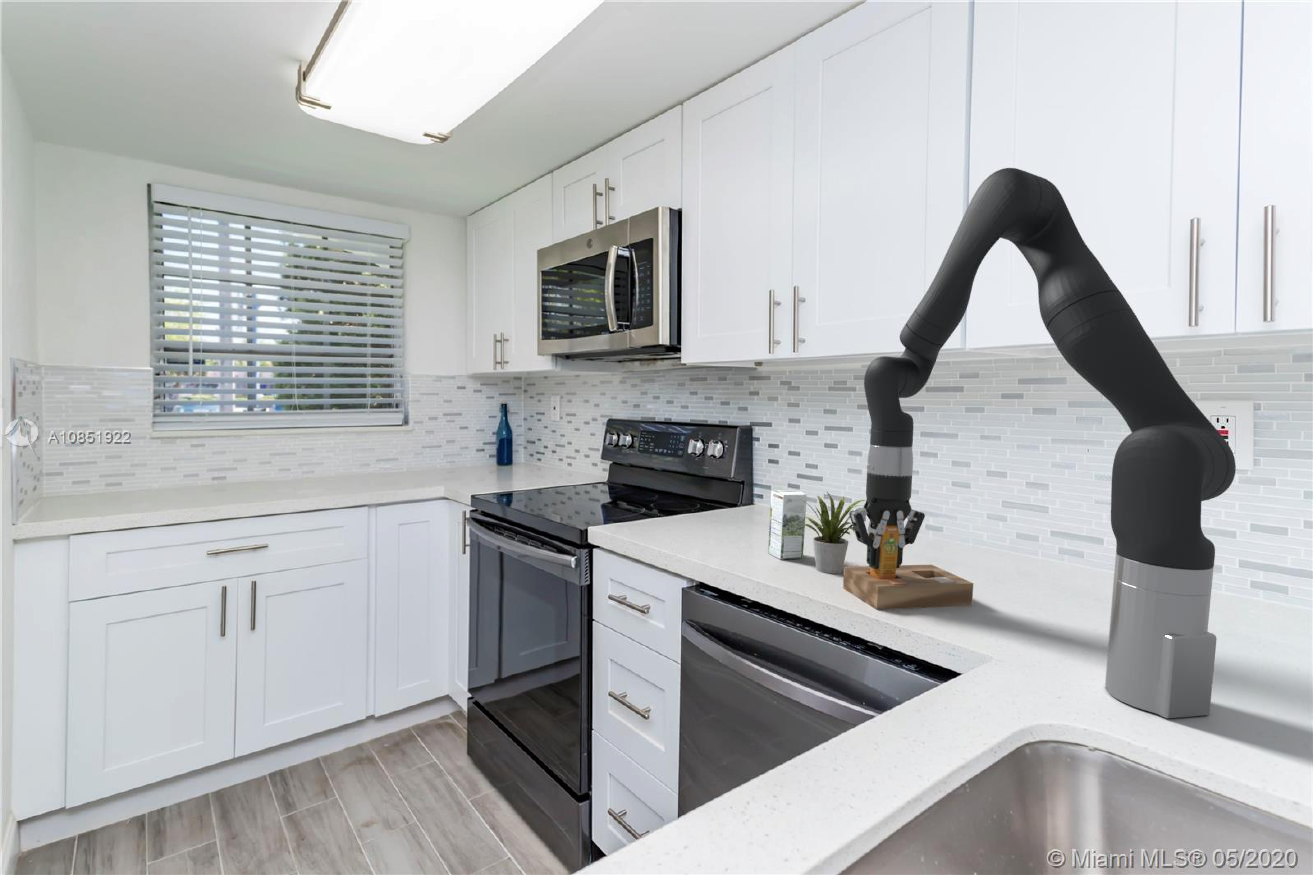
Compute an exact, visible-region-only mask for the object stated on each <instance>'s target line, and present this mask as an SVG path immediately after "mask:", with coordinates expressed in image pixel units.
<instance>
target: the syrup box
mask: <svg viewBox="0 0 1313 875" xmlns="http://www.w3.org/2000/svg"><path fill="white" fill-rule="evenodd" d="M800 499H801V500H800ZM802 500H803V501H802ZM804 501H805V502H806V503H805V502H804ZM806 512H807V494H806V493H804V492H802V491H800V490H797V489H796V490H795V489H786V490H785V489H783V490H782V489H781V490H771V493H770V508H769V529H768V530H769V531H768V548H767V549H768V550H767V553H768V554H769V555H770V556H772V557H774V558H777V559H778V560H780V561H781V560H782V561H783V560H796V559H799V560H800V559H803V558H804V547H805V546H804V543H805V532H806V531H805V530H806V528H805V527H806V526H805V525H803V524H806Z"/></svg>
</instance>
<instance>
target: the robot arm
mask: <svg viewBox="0 0 1313 875" xmlns="http://www.w3.org/2000/svg"><path fill="white" fill-rule="evenodd" d="M1000 239H1003V240H1006V241H1007V240H1008V241H1009V242H1010V243H1012V244H1013V245H1015V247H1016V248H1017V249H1018V250H1019V251H1020V253H1021V255H1022V256H1023V257H1024V258H1025V260H1026V261H1027V263H1028V265H1030V267H1031V270H1032V271H1033V273H1034V275H1035V278H1036V282H1037V293H1038V295H1037V296H1038V297H1037V298H1038V306H1039V307H1038V308H1039V313H1040V318H1041V320H1042V322H1043V325H1044V327H1045V329H1046V331H1047V332H1048V334H1049V335H1050V337H1051V339H1052V341H1053V343H1054V344H1055V346H1056V348H1057V349H1058V351H1059V353H1060V354H1061V356H1062V357H1063V358H1064V360H1065V362H1066V363H1067V364H1068V365H1069V366H1070V367H1071V368H1072V369H1073V370H1074V371H1075V372H1076V373H1077V374H1078V375H1079V376H1080V377H1081V378H1083V379H1084V380H1085V381H1086V382H1087V383H1089V385H1090V386H1091V387H1093V388H1094V389H1095V390H1097V392H1099V393H1100V394H1101V395H1102V396H1103V397H1104V398H1106V400H1108V401H1109V402H1110V403H1111V404H1112V406H1114V408H1115V409H1116V410H1117V412H1118V413H1119V414H1120V416H1121V417H1122V419H1123V421H1125V423H1126V425H1127V426H1128V429H1129V430H1130V432H1131V433H1130V434H1128V435H1127V436H1126V437H1125V438H1124V439H1123V440H1122V441H1121V442H1120V444H1119V446H1118V447H1117V450H1116V452H1115V455H1114V458H1113V462H1112V463H1113V464H1112V471H1111V493H1110V494H1111V495H1110V497H1111V498H1110V524H1111V529H1112V532H1113V535H1114V537H1115V538H1114V539H1115V540H1116V547H1115V548H1116V551H1115V558H1114V559H1115V561H1114V562H1115V563H1114V572H1113V583H1112V592H1111V593H1112V596H1111V607H1110V608H1111V609H1110V618H1109V619H1110V621H1109V631H1108V642H1107V643H1108V644H1107V655H1106V656H1107V658H1106V670H1105V685H1104V689H1105V690H1106V692H1107V693H1108V694H1109V695H1110V696H1112V697H1114V698H1115V699H1117V700H1118V701H1121V702H1123V704H1127V705H1129V706H1131V707H1134V708H1136V709H1137V708H1138V709H1140V710H1143V711H1147V712H1150V713H1154V714H1156V715H1159V716H1161V717H1163V718H1165V719H1174V718H1175V719H1177V718H1188V717H1198V716H1209V715H1210V712H1211V703H1212V702H1211V700H1212V690H1213V680H1214V671H1215V662H1216V661H1215V660H1216V648H1217V636H1216V634H1214V633H1212V632H1210V631H1209V630H1208V629H1209V620H1210V619H1209V618H1210V610H1211V609H1210V608H1211V600H1212V599H1211V598H1212V588H1213V587H1212V586H1213V579H1214V578H1213V577H1214V576H1213V575H1214V568H1215V560H1216V559H1215V557H1216V548H1215V547H1216V546H1215V544H1214V543H1213V542H1212V541H1211V539H1209V538H1207V537H1206V536H1205V534H1204V532H1203V530H1202V502H1205V501H1208V500H1212V499H1215V498H1218V497H1219V496H1221V495H1223V494H1225V492H1227V490H1228V489H1229V488H1230V487H1231V485H1232V484H1233V481H1234V479H1235V475H1236V470H1237V469H1236V467H1237V466H1236V459H1235V458H1236V457H1235V455H1234V453H1233V451H1232V448H1231V447H1230V445H1229V443H1228V442H1227V440H1226V439H1225V438H1224V436H1222V434H1221V433H1220V432H1219V431H1218V430H1217V428H1216V427H1215V426H1214V425H1213V423H1211V421H1210V420H1209V419H1208V418H1207V416H1206V415H1204V413H1203V412H1202V411H1201V410H1200V408H1199V407H1198V406H1197V405H1196V404H1195V402H1194V401H1193V400H1192V399H1191V398H1190V397H1189V395H1188V394H1187V392H1185V390H1184V389H1183V388H1182V387H1181V385H1180V384H1179V382H1178V381H1177V380H1176V378H1175V376H1174V375H1173V373H1172V372H1171V370H1170V369H1169V367H1168V365H1167V364H1166V361H1165V360H1164V359H1163V356H1162V355H1161V353H1160V352H1159V350H1158V349H1157V347H1156V345H1155V343H1153V341H1152V340H1151V338H1150V336H1149V335H1148V334H1147V332H1146V330H1145V329H1144V327H1143V325H1142V324H1141V322H1140V320H1139V319H1138V316H1137V315H1136V313H1135V312H1134V310H1133V309H1132V306H1130V305H1129V303H1128V301H1127V300H1126V298H1125V297H1124V295H1123V293H1122V292H1121V291H1120V290H1119V288H1118V287H1117V286H1116V284H1115V282H1114V281H1113V280H1112V278H1111V277H1110V276H1109V274H1108V272H1107V271H1106V270H1105V268H1104V267H1103V265H1102V264H1101V263H1100V261H1099V259H1098V258H1097V257H1096V256H1095V254H1094V253H1093V252H1092V251H1091V249H1090V248H1089V247H1088V245H1087V244H1086V242H1085V241H1084V238H1083V237H1082V236H1081V234H1080V232H1079V229H1078V227H1077V225H1076V223H1075V222H1074V219H1073V217H1072V214H1071V212H1070V210H1069V208H1068V206H1067V204H1066V202H1065V199H1064V198H1063V195H1062V194H1061V192H1060V190H1059V189H1058V188H1057V186H1056V185H1055V184H1054V183H1053V182H1051V181H1049V180H1048V178H1047V179H1046V178H1044V177H1042V176H1039V175H1036V174H1034V173H1030V172H1028V171H1026V170H1023V169H1019V168H1016V167H1006V168H1005V167H1004V168H1002V169H998V170H996V171H994V172H992V173H991V174H990V175H989V176H988V177H986V179H985V178H984V180H983V181H982V182H981V184H980V185H979V187H978V188H977V189H976V191H975V193H974V194H973V196H972V198H971V199H970V202H969V204H968V206H967V208H966V210H965V213H964V215H963V217H962V218H961V221H960V223H959V225H958V227H957V230H956V232H955V233H954V237H953V238H952V241H951V242H950V245H949V247H948V249H947V250H946V253H945V255H944V257H943V260H942V261H941V264H940V265H939V268H938V270H937V273H936V275H935V276H934V278H933V280H932V282H931V284H930V286H929V287H928V288H927V291H926V292H925V294H924V295H923V297H922V299H921V300H920V302H919V303H918V305H917V306H916V308H915V309H914V310H913V312H912V314H911V315H910V317H909V318H908V320H907V321H906V323H905V324H904V326H903V327H902V329H901V331H900V335H899V341H900V343H901V344H902V346H903V347H904V351H903V353H902V355H901V356H899V357H898V356H884V355H883V356H878V357H876V358H874V359H873V360H872V361H870V363H869V365H868V366H867V367H866V370H865V373H864V378H863V388H864V393H865V394H864V395H865V399H866V403H867V409H868V413H869V417H870V421H871V424H870V440H869V450H868V455H867V465H866V469H867V470H866V482H865V483H866V484H865V485H866V486H865V495H866V499H865V500H866V501H865V503H864V504H863V505H864V506H863V507H862V509H860V510H858V511H855V510H852V509H851V510H850V511H849V513H848V515H849V516H850V518H849V520H850V521H851V522H850V523H851V524H852V525H853V526H852V527H853V528H854V531H853V532H854V535H855V538H856V540H857V542H859V543H861V544H863V545H866V563H867V565H868V566H870V567H871V568H873V569H878V568H879V553H880V549H879V548H878V547H879V544H880V541H881V537H882V536H883V535H884V532H885V527H886V526H897V527H898V536H899V542H898V554H897V565H896V568H899V567H900V565H902V564H903V556H904V554H903V553H904V548H905V546H907V545H914V543H915V541H916V539H917V536H918V534H919V532H920V529H921V527H922V524H923V522H924V520H925V517H926V514H925V513H924V512H921V511H919V510H915V509H912V506H911V503H910V499H911V498H912V487H913V486H912V485H913V484H912V483H913V468H914V456H913V455H914V454H913V444H914V443H913V442H914V419H913V416H912V415H911V414H909V413H907V412H904V411H903V410H902V407H901V401H900V399H907V398H911V397H914V396H915V395H917V394H918V393H919V392H920V391H921V390H923V388H924V387H925V386H926V385H927V383H928V381H929V379H930V377H931V374H932V372H933V368H934V367H935V364H936V362H937V360H938V356H939V353H940V351H941V349H942V348H943V347H944V346H945V344H946V343H947V341H948V340H949V339H950V337H951V336H952V335H953V333H954V331H955V330H956V329H957V327H958V326H959V325H960V323H961V321H962V319H963V318H964V316H965V314H966V312H967V309H968V306H969V304H970V298H971V294H972V291H973V290H972V289H973V285H974V282H975V279H976V275H977V273H978V270H979V269H980V266H981V264H982V262H983V260H985V257H986V256H987V254H988V253H989V252H990V250H991V249H992V248H993V247H994V246H995V245H996V243H997V242H998V241H999V240H1000ZM866 516H867V517H866ZM866 518H868V520H869V522H868V525H867V526H868V528H867V526H866V521H867V520H866ZM906 519H907V521H906V524H905V520H906ZM874 526H875V527H877V529H875V528H874Z"/></svg>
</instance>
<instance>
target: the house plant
mask: <svg viewBox="0 0 1313 875" xmlns="http://www.w3.org/2000/svg"><path fill="white" fill-rule="evenodd" d="M826 493H827V496H828V497H829V502H830V514H829V509H828V506H827V503H826V502H825V501H824V500H823V499H822V497H820V496H818V495H817V499H818V502H819V506H820V510H819V509H818V508H817V506H816V505H814V508H815V509H816V511H817V512H816V511H815V509H813V507H812V506H811V505H810V504H809V503H808V502H807V501H806V502H805V501H804V502H805V503H806V505H808V506H809V507H810V509H812V511H813V512H814V514H815V515H816V517H817V518H818V520H819V522H820V523H818V522H817V521H815V520H814V519H813V518H811V517H809V516H805V519H807V520H808V521H809V522H810V523H811V524H812V525H813V526H812V525H811V524H808V523H805V524H803V525H805V527H808V528H810V529H812V530H813V531H814V532H815V533H816V534H817V535H818V536H814V537H813V538H812V543H813V544H812V545H813V552H814V553H813V554H814V559H815V560H814V561H815V569H816V570H817V571H818V572H821V573H825V574H840V573H842V572H843V571H844V565H845V560H846V555H847V552H848V546H849V540H848V539H846V538H843V537H844V535H845V534H847V535H850V537H852V535H851V533H850V532H849V530H852V532H855V531H854V528H853V525H852V522H849V520H850V515H849V513H850V511H852V509H853V508H856V507H859V508H856V509H855V510H854V511H858V510H860V509H863V507H864V505H865V504H859V503H861V502H866V500H867V499H860V500H859V499H858V500H857V501H854V502H853V503H851V504H850V505H849V506H848V507H847V508H846V509H845V511H844V512H843V509H844V506H845V499H846V497H845V496H843V497H842V498H841V499H839V502H838V504H837V507H835V502H834V499H833V498H832V496H831V494H830V493H829V492H828V491H826ZM800 500H801V499H800ZM802 501H803V500H802ZM842 512H843V514H842ZM841 514H842V515H841ZM847 515H849V516H848V517H847V519H846V520H845V521H844V522H843V520H844V519H845V517H846V516H847ZM842 522H843V523H842ZM847 525H849V526H847ZM814 526H815V527H816V528H815V527H814ZM846 526H847V527H846ZM819 533H820V534H821V536H820V534H819Z"/></svg>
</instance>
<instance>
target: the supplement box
mask: <svg viewBox="0 0 1313 875" xmlns="http://www.w3.org/2000/svg"><path fill="white" fill-rule="evenodd" d="M874 528H875V529H877V527H875V526H874ZM898 542H899V536H898V527H897V526H886V527H885V532H884V535H883V536H882V537H881V541H880V544H879V547H878V548H879V549H880V553H879V568H878V569H873V568H871V569H870V575H871V576H873V577H875V578H877V579H878V580H879V579H895V576H896V565H897V554H898Z"/></svg>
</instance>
